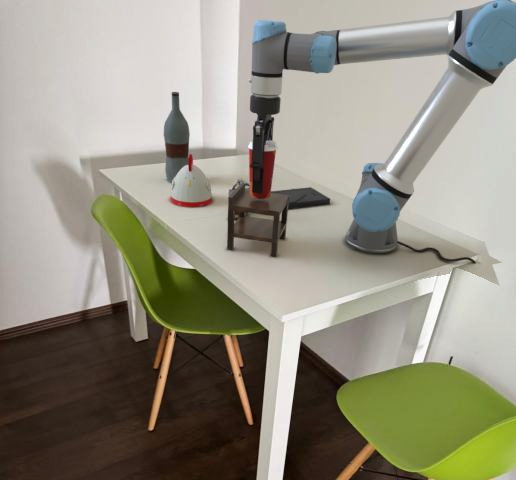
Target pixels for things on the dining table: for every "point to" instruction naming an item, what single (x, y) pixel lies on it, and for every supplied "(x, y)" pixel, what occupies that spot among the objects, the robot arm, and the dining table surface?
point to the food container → (239, 181)
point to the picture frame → (304, 197)
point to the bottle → (176, 140)
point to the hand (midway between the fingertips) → (260, 188)
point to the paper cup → (268, 169)
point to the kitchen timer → (191, 187)
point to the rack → (257, 226)
